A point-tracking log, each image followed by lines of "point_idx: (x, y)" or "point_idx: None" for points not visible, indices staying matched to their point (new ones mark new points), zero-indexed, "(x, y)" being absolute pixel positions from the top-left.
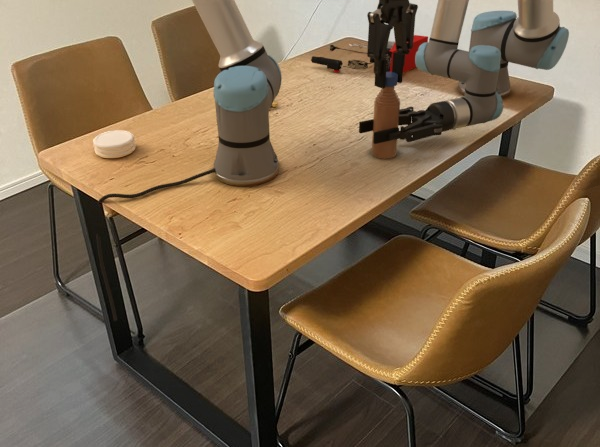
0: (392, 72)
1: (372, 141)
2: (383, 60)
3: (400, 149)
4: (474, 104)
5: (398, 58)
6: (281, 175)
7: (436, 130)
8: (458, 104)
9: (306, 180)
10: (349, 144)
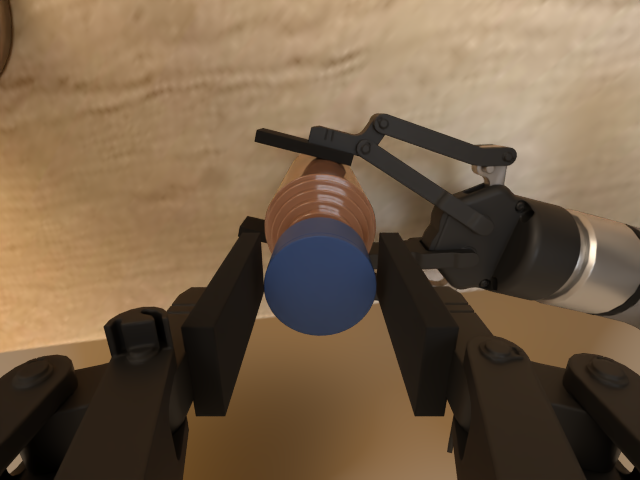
0: (366, 277)
1: (289, 168)
2: (194, 405)
3: (371, 194)
4: (627, 317)
5: (409, 359)
6: (5, 94)
7: None
8: (583, 300)
9: (58, 163)
10: (284, 68)
